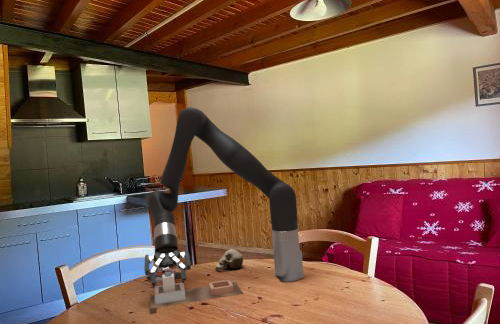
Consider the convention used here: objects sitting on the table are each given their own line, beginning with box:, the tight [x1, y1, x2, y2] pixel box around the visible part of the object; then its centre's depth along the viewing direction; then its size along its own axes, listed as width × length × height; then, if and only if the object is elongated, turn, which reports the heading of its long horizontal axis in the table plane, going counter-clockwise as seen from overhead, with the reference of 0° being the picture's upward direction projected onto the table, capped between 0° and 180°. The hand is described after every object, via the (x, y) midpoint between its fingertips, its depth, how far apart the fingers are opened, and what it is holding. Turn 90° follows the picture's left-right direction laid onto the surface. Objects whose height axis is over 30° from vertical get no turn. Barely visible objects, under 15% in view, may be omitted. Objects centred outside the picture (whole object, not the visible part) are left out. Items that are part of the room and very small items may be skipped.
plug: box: [162, 271, 176, 293], centre depth 117 cm, size 4×4×8 cm
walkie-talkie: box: [146, 267, 182, 283], centre depth 140 cm, size 9×4×20 cm
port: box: [154, 282, 186, 306], centre depth 117 cm, size 9×9×3 cm
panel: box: [149, 281, 244, 314], centre depth 119 cm, size 28×12×2 cm, turn 103°
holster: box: [208, 279, 234, 295], centre depth 121 cm, size 7×7×2 cm
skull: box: [215, 248, 245, 273], centre depth 151 cm, size 12×10×10 cm
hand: (169, 283), depth 116 cm, fingers open, 8 cm apart
